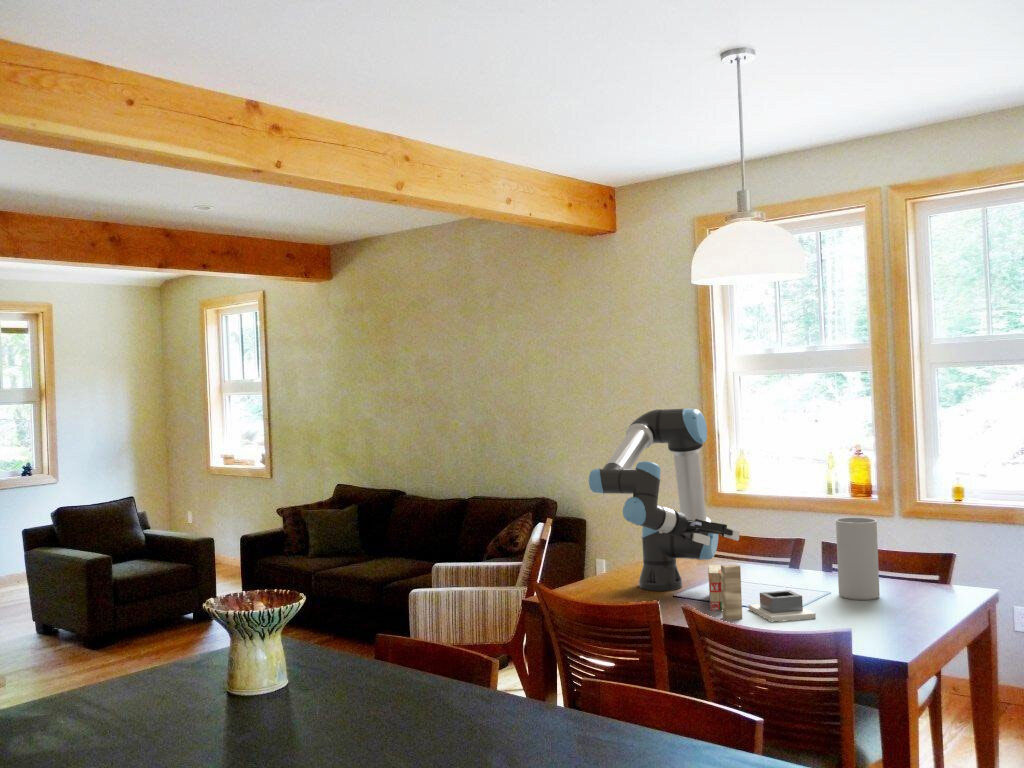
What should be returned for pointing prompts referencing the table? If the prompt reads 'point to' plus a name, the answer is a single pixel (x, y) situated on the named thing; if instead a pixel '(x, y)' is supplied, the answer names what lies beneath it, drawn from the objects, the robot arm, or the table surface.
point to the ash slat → (731, 591)
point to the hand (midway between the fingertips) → (723, 538)
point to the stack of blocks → (715, 587)
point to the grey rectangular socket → (781, 601)
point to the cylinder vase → (857, 558)
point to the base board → (782, 614)
